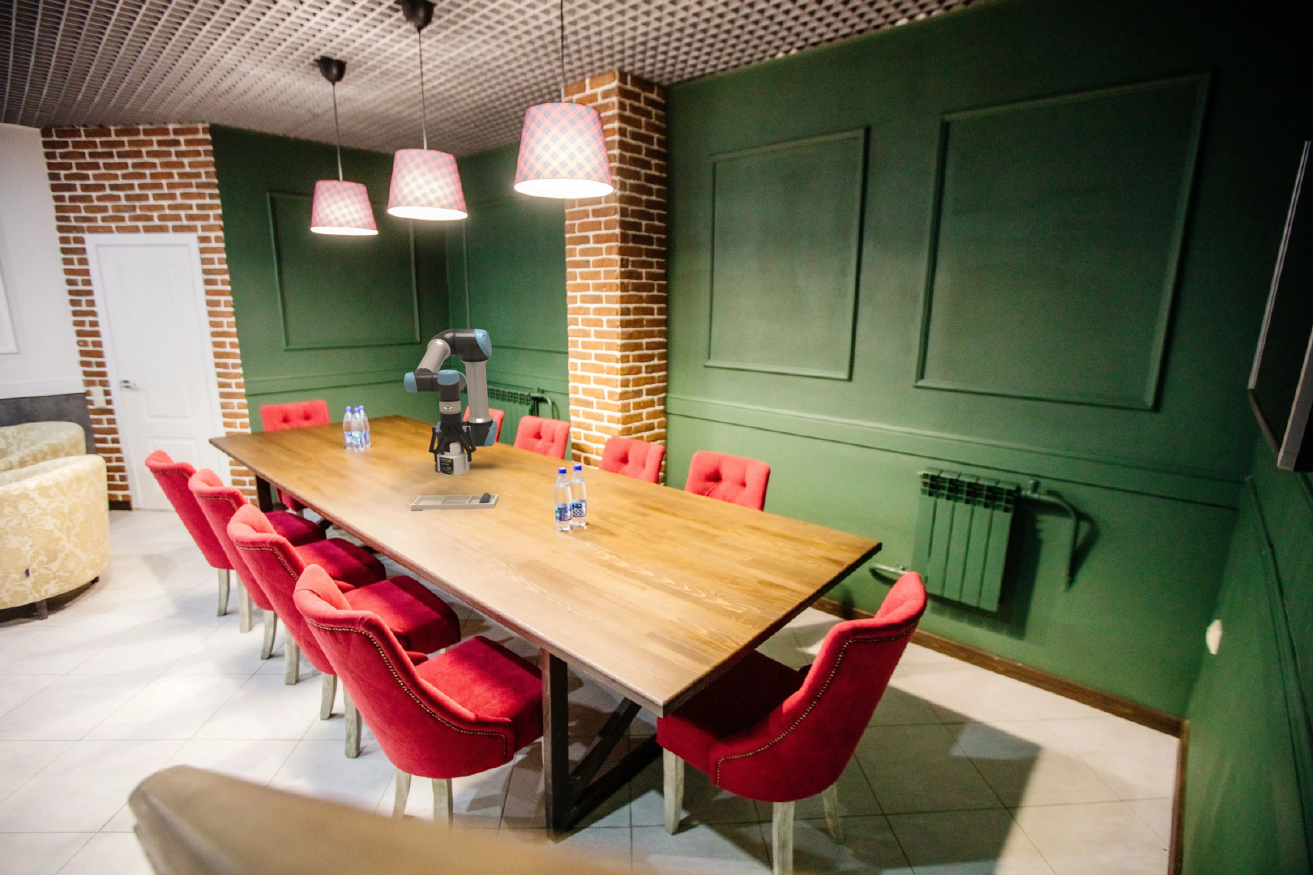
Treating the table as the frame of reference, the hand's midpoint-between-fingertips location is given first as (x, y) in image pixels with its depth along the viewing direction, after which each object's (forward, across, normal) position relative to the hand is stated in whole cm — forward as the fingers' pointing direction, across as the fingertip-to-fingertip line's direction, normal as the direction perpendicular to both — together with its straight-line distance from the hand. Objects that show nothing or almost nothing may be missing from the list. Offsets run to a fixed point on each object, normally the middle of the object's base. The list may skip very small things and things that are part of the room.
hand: (453, 470), depth 239 cm
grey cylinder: (+13, +10, 0) cm, 16 cm away
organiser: (+14, 0, 0) cm, 14 cm away
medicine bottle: (+1, 0, 0) cm, 1 cm away
